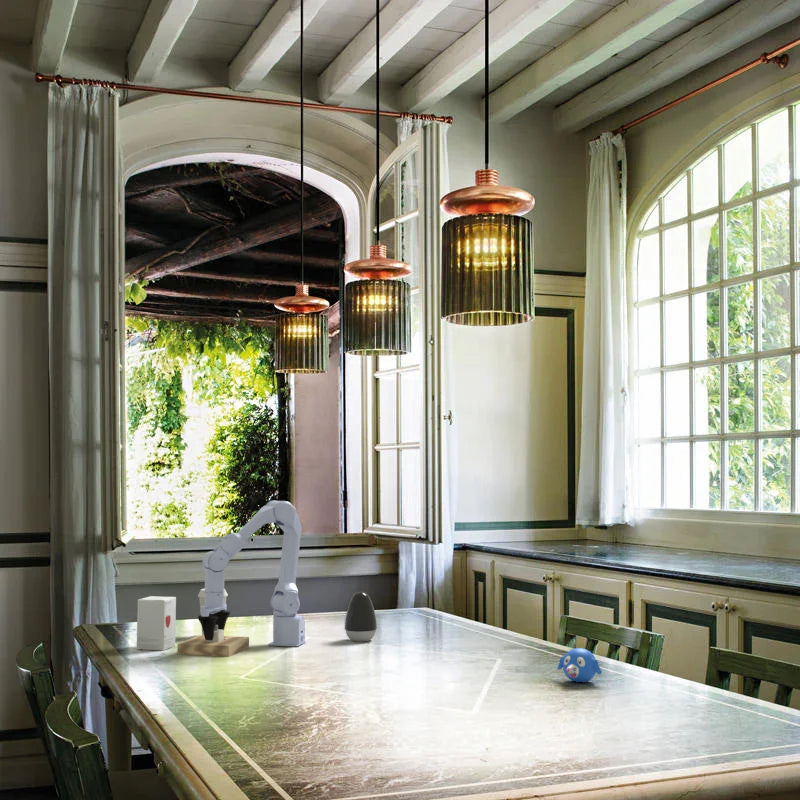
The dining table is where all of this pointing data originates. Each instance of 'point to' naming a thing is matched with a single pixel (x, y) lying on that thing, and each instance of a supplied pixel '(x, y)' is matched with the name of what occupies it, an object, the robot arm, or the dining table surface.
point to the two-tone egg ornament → (360, 618)
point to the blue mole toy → (579, 665)
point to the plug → (217, 635)
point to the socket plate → (213, 646)
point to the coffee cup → (202, 600)
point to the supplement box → (156, 623)
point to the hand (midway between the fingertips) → (214, 638)
